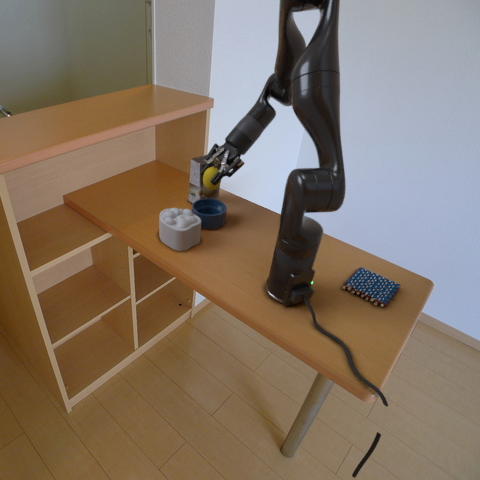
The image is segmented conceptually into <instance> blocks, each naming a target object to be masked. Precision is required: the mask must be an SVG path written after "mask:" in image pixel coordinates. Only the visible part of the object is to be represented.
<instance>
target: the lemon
mask: <svg viewBox="0 0 480 480" xmlns="http://www.w3.org/2000/svg"><path fill="white" fill-rule="evenodd" d="M217 172H219V170H218V169H217V168H215V167H210V168H208V169H207V170H206V171H205V172H204V175H203V184H204V186H205V187H206V188H207V189H209V190H210V191H212V190H214V189H216V188H218V187H219V185H220V186H221V182H222V179H221V180H220V181H219V183H218V184H216V185H213V184H212V183H211V182H210V180H211V179H212V178H213V177H214V176H215V174H216V173H217Z"/></svg>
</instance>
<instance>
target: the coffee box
mask: <svg viewBox="0 0 480 480" xmlns="http://www.w3.org/2000/svg"><path fill="white" fill-rule="evenodd" d="M207 155H208V154H204V155H199V156H196V157H192V158H190V169H189V186H188V187H189V188H188V201H189V202H190V203H191V204H193V203H194V202H195V201H197V200H199V199H206V198H210V199H216V200H219V198H220V190H221V189H220V188H221V184H220V185H219V187H218V188H216V189H214V190H212V191H210V190H209V189H207V188H206V187H205V186H204V184H203V176H202V175H201V174H200V172H201V170H202V169H203V168H204V166H205V165H206V164H207V161H206V160H205V158H206V156H207ZM211 157H212V155H211ZM211 157H210V159H211ZM217 159H218V157H217ZM213 162H215V161H213ZM214 167H215V168H217V169H218V170H220V168H221V163H220V164H217V165H216V166H214Z"/></svg>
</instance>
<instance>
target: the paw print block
mask: <svg viewBox="0 0 480 480" xmlns="http://www.w3.org/2000/svg"><path fill="white" fill-rule="evenodd" d="M158 217H159V218H158V226H159V227H158V231H159V233H158V235H159V236H158V237H159V240H160V242H162V243H163V244H164V245H166V246H167V247H169V248H170V249H172V250H175V251H178V252H185V251H188V250H189V249H191V248H192V247H194V246H197V245H199V244H200V242H201V231H202V228H201V219H200V218H199V217H198V216H196V215H195V214H193V213H192V209H189V208H178V207H171V208H165V209H163V210H161V211H160V213H159V216H158Z"/></svg>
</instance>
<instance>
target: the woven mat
mask: <svg viewBox="0 0 480 480" xmlns="http://www.w3.org/2000/svg"><path fill="white" fill-rule="evenodd" d="M342 285H343V286H342V290H348V291H350V293H351V294H352V295H354V294H355V293H356V295H357V296H359V295H360V294H361V295H360V297H361V298H362V299H363V298H364V297H365V300H366V301H369V302H372V303H373V302H374V303H373V306H376V307H377V306H378V305H379V304H380V307H381V308H383V307H387V305H389V303H390V301H391V300H392V299H393V297H394V296H395V294H396V293H397V292H398V291H399V290H400V289H401V288H400V287H401V286H402V285H401V284H400V283H397V282H396V281H395V280H389V278H388V277H384V276H383V275H381V274H378V273H377V272H373V271H371V270H370V269H367V268H365V267H363V266H361V267H358V268H357V269H356V270H354V272H353V273H352V274H351V275H350V276H349V277H348V279H346V281H345V282H343V284H342Z"/></svg>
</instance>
